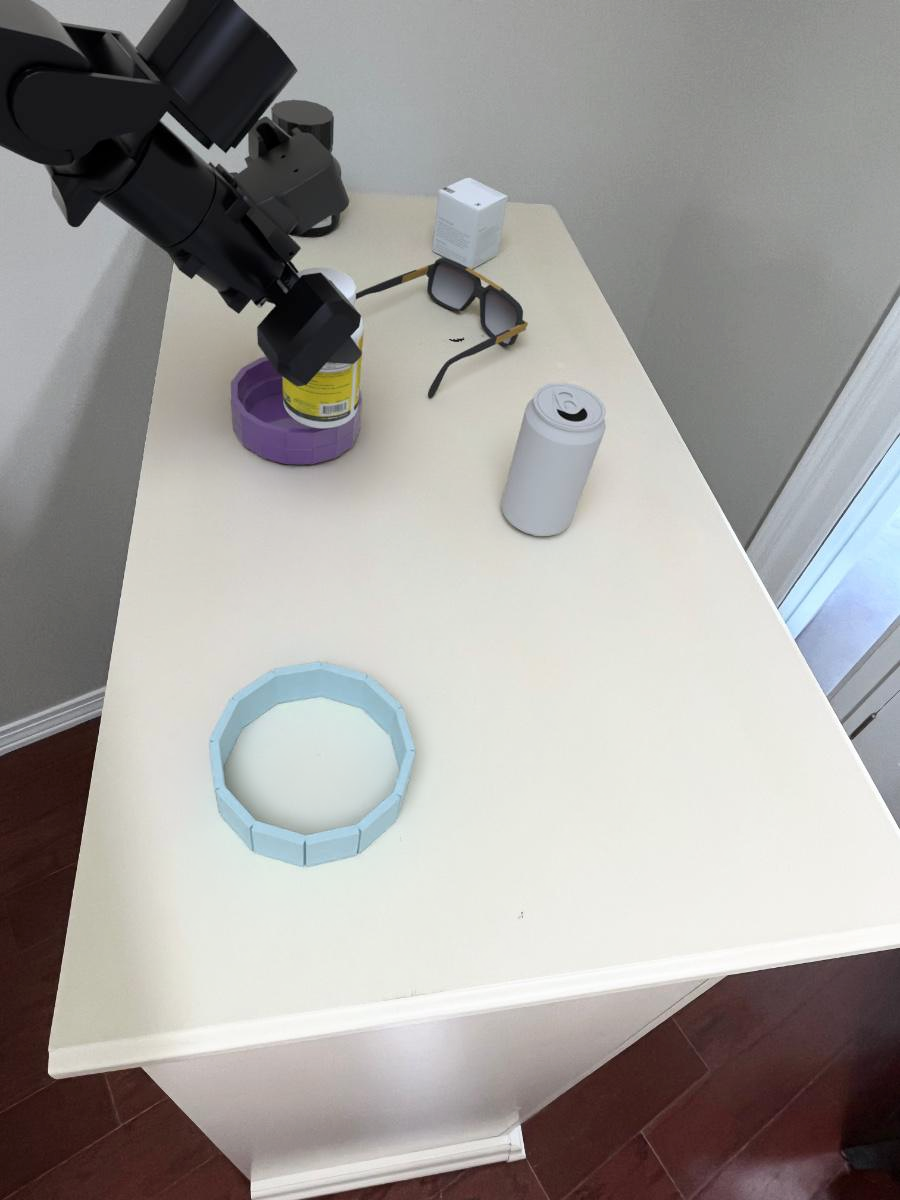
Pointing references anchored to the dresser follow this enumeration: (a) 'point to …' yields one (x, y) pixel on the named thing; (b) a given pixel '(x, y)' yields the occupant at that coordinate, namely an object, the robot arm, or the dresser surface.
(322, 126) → the ink bottle
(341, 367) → the pill bottle
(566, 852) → the dresser surface
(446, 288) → the sunglasses
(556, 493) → the beverage can
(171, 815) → the dresser surface
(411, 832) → the dresser surface
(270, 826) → the light blue ring
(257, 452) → the purple bowl
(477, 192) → the white cardboard box
